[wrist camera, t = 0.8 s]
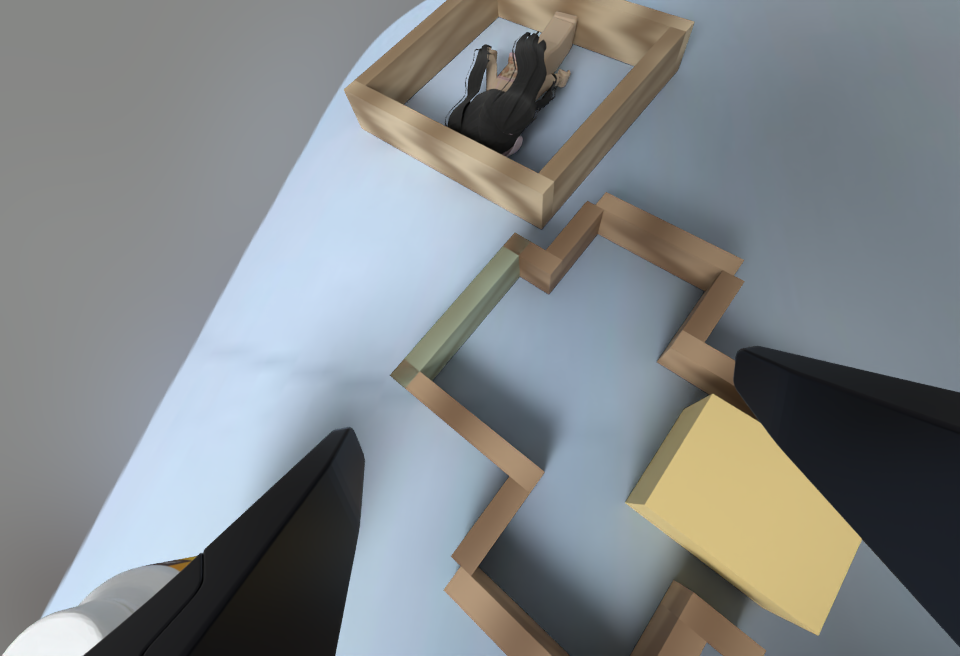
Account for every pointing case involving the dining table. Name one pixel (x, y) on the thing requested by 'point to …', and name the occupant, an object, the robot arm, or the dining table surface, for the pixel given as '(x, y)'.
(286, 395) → the dining table surface
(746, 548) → the block
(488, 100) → the toy figure
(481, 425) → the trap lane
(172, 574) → the supplement bottle
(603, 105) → the fence
